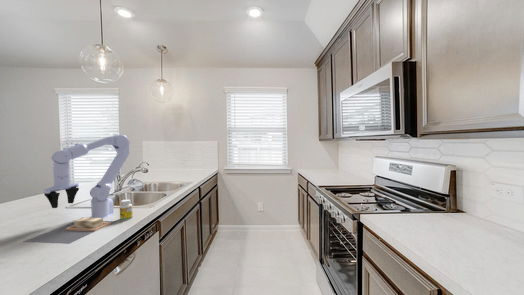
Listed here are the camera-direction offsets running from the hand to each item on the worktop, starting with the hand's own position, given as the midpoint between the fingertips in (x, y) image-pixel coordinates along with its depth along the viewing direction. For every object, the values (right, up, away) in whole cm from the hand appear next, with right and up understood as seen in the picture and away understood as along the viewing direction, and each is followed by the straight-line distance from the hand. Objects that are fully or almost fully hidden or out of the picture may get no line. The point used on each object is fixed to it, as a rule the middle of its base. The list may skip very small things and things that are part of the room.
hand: (63, 205), depth 107 cm
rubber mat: (+11, -10, -7) cm, 16 cm away
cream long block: (+15, -9, -3) cm, 17 cm away
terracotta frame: (+15, -9, -3) cm, 17 cm away
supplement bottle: (+25, -9, +7) cm, 28 cm away
